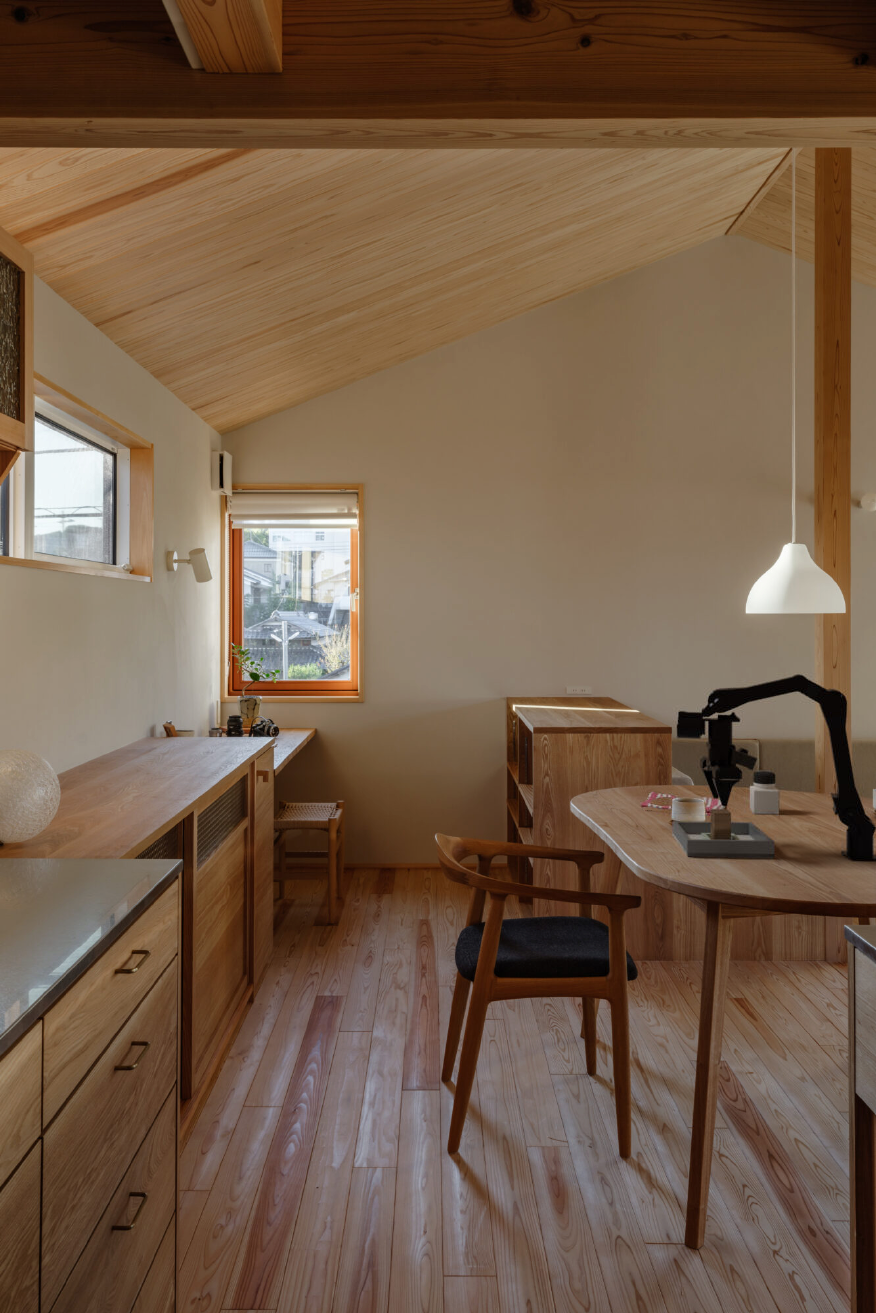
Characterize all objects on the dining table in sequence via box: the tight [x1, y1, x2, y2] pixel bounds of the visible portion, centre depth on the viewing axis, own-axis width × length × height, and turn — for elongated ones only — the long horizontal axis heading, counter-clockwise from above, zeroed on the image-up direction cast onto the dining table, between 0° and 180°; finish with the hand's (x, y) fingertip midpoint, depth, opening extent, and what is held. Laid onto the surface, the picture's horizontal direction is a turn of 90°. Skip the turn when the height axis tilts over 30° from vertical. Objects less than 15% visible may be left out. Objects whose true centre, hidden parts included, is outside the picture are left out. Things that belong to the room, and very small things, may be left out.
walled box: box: [672, 821, 775, 859], centre depth 208 cm, size 20×20×4 cm
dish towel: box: [640, 791, 726, 816], centre depth 255 cm, size 17×23×4 cm
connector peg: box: [710, 808, 732, 840], centre depth 208 cm, size 4×4×8 cm
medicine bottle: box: [749, 770, 780, 816], centre depth 248 cm, size 7×7×12 cm
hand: (720, 802), depth 208 cm, fingers open, 9 cm apart
